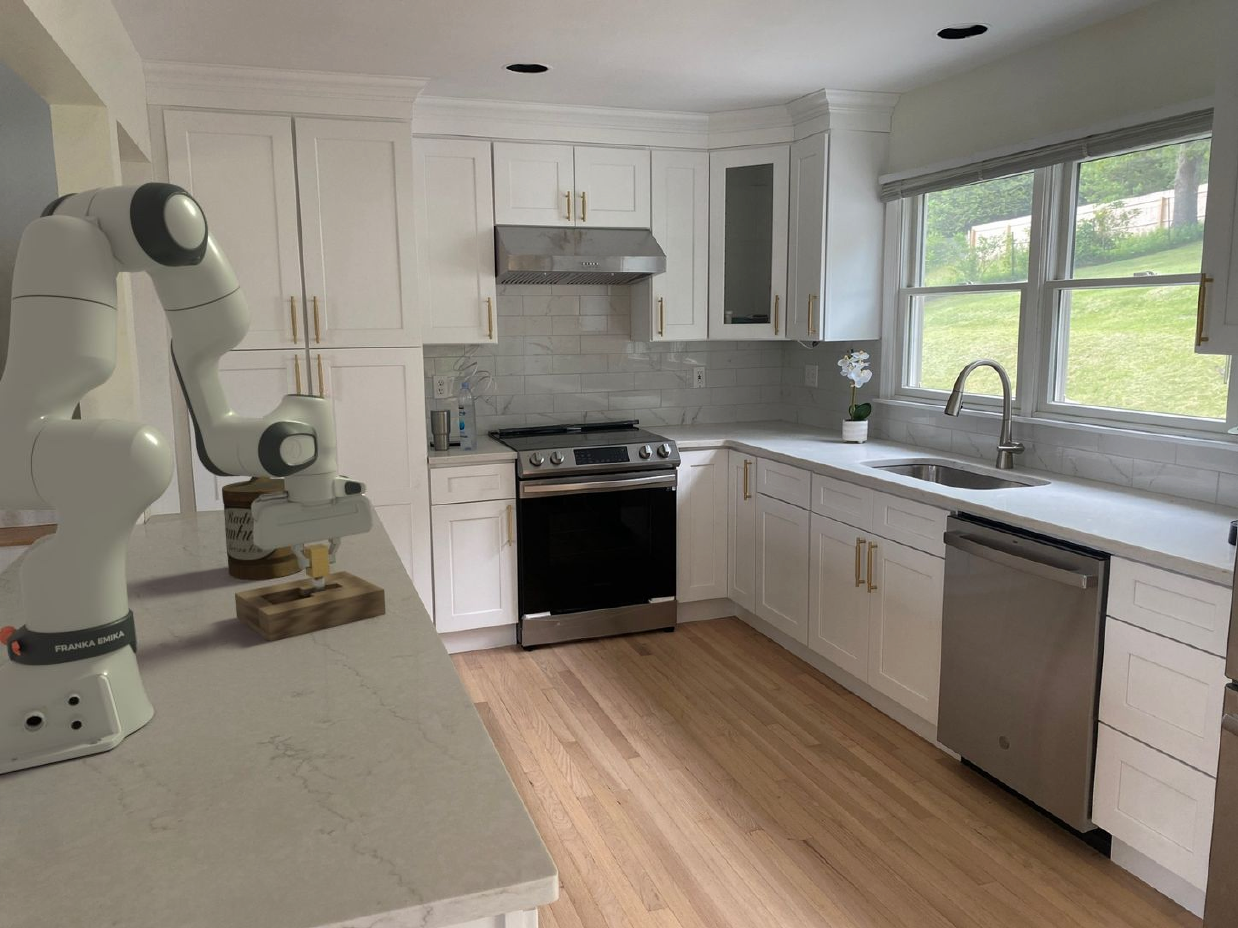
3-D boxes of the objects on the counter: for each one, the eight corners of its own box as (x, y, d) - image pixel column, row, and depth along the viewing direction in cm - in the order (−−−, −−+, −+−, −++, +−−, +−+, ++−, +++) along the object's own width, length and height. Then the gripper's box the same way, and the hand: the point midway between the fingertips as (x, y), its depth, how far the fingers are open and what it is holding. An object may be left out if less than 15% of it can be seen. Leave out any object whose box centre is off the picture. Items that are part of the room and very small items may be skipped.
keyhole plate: (270, 641, 141) (268, 614, 140) (236, 617, 153) (234, 592, 152) (385, 613, 154) (384, 589, 153) (346, 593, 166) (345, 570, 165)
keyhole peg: (311, 611, 151) (307, 552, 150) (300, 604, 155) (296, 546, 153) (339, 604, 154) (335, 546, 153) (327, 598, 158) (324, 541, 156)
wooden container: (212, 578, 178) (203, 470, 174) (259, 559, 192) (251, 459, 188) (277, 582, 174) (269, 472, 171) (319, 562, 188) (312, 461, 185)
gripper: (257, 498, 142) (263, 581, 144) (374, 482, 156) (379, 558, 158) (243, 493, 147) (250, 573, 149) (359, 478, 160) (363, 551, 162)
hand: (317, 565), depth 154 cm, fingers closed on keyhole peg, 3 cm apart
